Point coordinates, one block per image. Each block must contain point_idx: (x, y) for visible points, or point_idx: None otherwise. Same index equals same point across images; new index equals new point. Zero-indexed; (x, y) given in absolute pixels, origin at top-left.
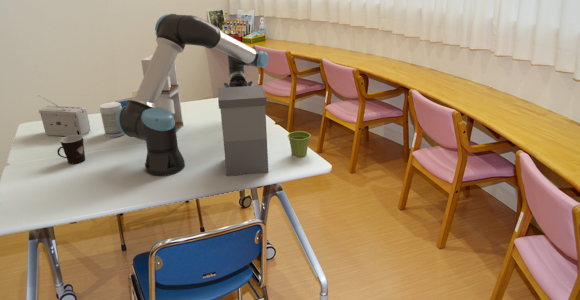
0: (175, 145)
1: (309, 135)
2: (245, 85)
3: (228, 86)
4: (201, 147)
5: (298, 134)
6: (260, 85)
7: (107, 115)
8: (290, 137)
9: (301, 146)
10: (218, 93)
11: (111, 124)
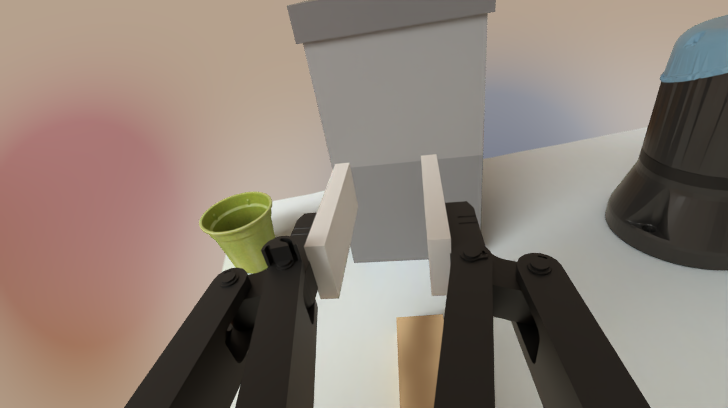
0: (642, 147)
1: (207, 214)
2: (254, 344)
3: (564, 348)
4: (640, 371)
5: (222, 237)
6: (294, 4)
7: None
8: (256, 231)
9: (252, 215)
10: None
11: None
